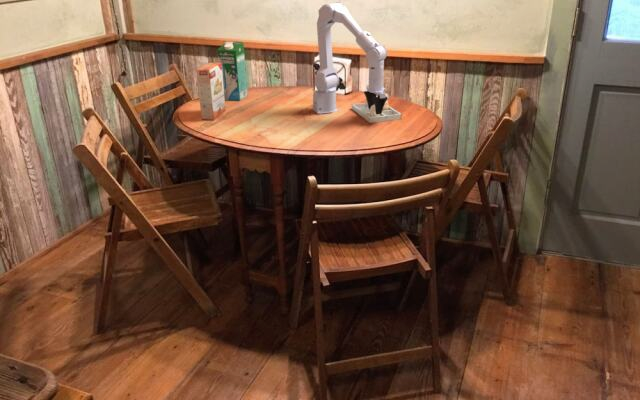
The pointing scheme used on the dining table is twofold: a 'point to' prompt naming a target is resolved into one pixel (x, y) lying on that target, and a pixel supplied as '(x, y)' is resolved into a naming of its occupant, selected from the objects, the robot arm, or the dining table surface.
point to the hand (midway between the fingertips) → (374, 111)
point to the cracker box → (211, 90)
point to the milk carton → (233, 70)
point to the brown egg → (385, 106)
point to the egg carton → (385, 116)
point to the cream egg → (373, 112)
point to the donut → (385, 96)
